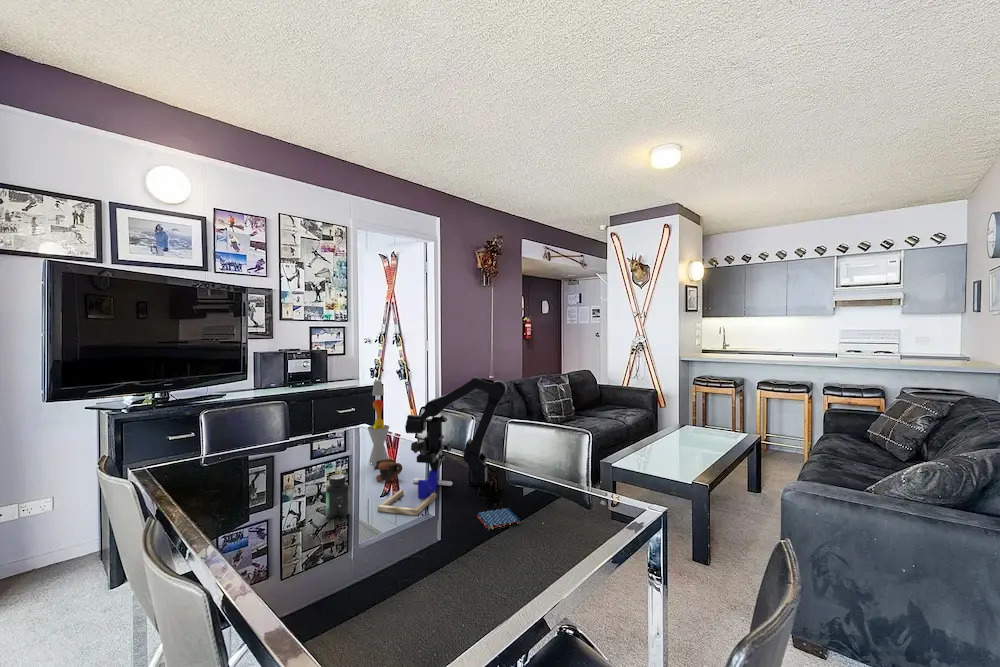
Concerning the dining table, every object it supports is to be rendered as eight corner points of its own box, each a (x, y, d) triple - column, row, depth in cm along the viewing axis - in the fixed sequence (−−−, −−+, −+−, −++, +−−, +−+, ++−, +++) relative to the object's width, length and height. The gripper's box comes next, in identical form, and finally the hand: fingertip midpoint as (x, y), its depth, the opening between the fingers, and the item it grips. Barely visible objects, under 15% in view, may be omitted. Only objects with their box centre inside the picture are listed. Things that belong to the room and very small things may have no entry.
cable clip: (426, 486, 170) (426, 469, 170) (438, 487, 169) (438, 470, 169) (414, 498, 158) (413, 480, 158) (426, 499, 157) (426, 481, 157)
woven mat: (475, 518, 142) (475, 511, 142) (508, 513, 146) (508, 506, 146) (486, 532, 132) (486, 525, 132) (521, 526, 136) (521, 519, 136)
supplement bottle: (325, 520, 140) (324, 481, 140) (327, 512, 147) (326, 474, 147) (349, 518, 142) (348, 478, 142) (350, 509, 149) (349, 472, 148)
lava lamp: (366, 460, 203) (365, 380, 203) (387, 457, 207) (386, 378, 206) (370, 466, 195) (368, 382, 194) (391, 463, 199) (390, 380, 198)
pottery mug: (368, 483, 175) (369, 461, 179) (382, 486, 183) (382, 465, 187) (397, 477, 172) (396, 454, 176) (409, 481, 180) (409, 459, 184)
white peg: (453, 485, 170) (453, 480, 170) (451, 486, 169) (451, 482, 169) (413, 481, 175) (413, 477, 174) (412, 483, 173) (411, 478, 173)
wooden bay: (436, 497, 158) (436, 493, 158) (416, 515, 144) (416, 510, 144) (400, 494, 162) (400, 489, 162) (377, 511, 147) (377, 506, 147)
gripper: (425, 427, 185) (425, 466, 185) (402, 438, 167) (403, 481, 167) (451, 428, 182) (452, 468, 182) (431, 440, 164) (432, 484, 164)
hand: (434, 475), depth 174 cm, fingers closed
